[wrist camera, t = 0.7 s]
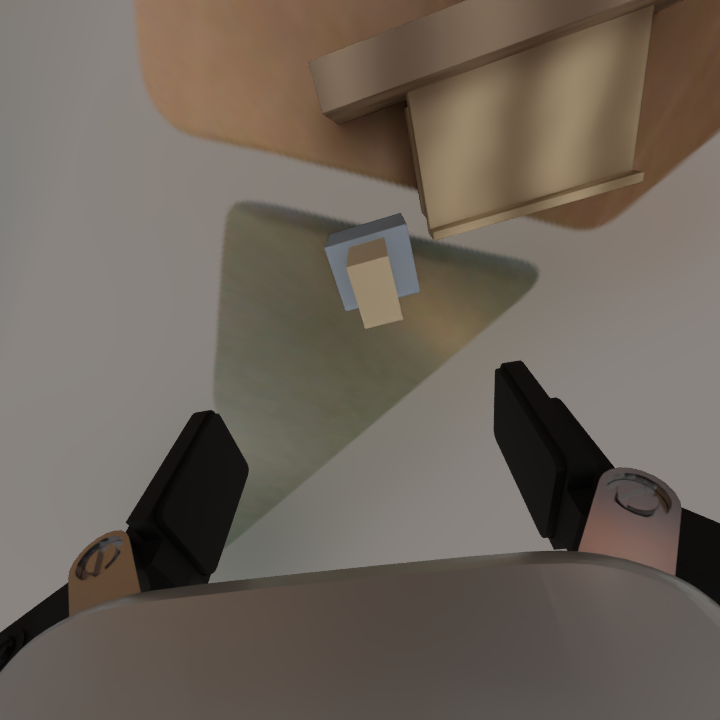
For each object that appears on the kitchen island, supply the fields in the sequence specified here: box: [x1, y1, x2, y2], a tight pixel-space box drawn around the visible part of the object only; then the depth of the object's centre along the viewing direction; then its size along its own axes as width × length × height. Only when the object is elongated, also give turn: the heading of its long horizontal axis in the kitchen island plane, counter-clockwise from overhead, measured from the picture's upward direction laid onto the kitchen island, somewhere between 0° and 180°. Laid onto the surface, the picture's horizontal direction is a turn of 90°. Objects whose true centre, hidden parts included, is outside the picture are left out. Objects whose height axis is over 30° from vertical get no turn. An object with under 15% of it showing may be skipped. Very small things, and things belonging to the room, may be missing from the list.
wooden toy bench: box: [308, 0, 683, 241], centre depth 22 cm, size 24×13×13 cm, turn 106°
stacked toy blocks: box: [325, 213, 420, 329], centre depth 29 cm, size 7×6×10 cm
